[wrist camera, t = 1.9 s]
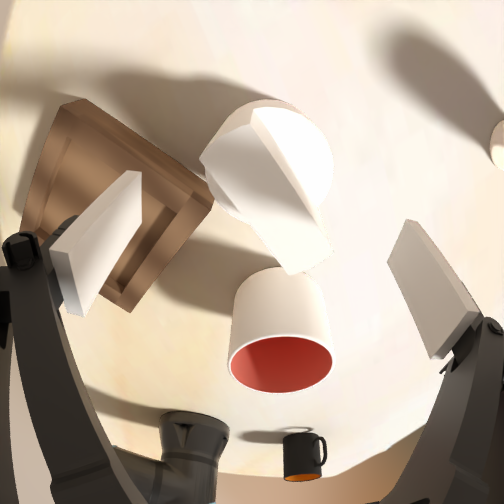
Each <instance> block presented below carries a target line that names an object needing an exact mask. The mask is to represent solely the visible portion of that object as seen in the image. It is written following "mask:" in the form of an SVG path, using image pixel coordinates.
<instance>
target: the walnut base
mask: <svg viewBox="0 0 504 504" xmlns="http://www.w3.org/2000/svg"><path fill="white" fill-rule="evenodd" d="M127 170H128V171H138V172H142V178H141V205H142V223H141V225H140V226H139V228H138V229H137V231H136V232H135V234H134V235H133V237H132V238H131V240H130V241H129V243H128V245H127V246H126V248H125V249H124V251H123V253H122V254H121V256H120V257H119V259H118V261H117V262H116V264H115V265H114V267H113V269H112V270H111V272H110V274H109V275H108V277H107V279H106V280H105V282H104V284H103V286H102V287H101V289H100V291H99V294H100V295H102V296H103V297H105V298H106V299H108V300H109V301H111V302H113V303H114V304H116V305H117V306H119V307H121V308H122V309H124V310H125V311H127V312H129V313H131V312H132V310H133V309H134V307H135V306H136V305H137V303H138V302H139V301H140V299H141V298H142V297H143V295H144V294H145V293H146V291H147V290H148V289H149V287H150V286H151V285H152V284H153V282H154V281H155V280H156V278H157V277H158V276H159V274H160V273H161V272H162V271H163V269H164V268H165V267H166V265H167V264H168V263H169V262H170V260H171V259H172V258H173V256H174V255H175V254H176V253H177V251H178V250H179V249H180V248H181V246H182V245H183V244H184V243H185V241H186V240H187V239H188V238H189V236H190V235H191V234H192V233H193V232H194V230H195V229H196V228H197V227H198V225H199V224H200V223H201V222H202V221H203V219H204V218H205V217H206V216H207V214H208V213H209V212H210V211H211V208H212V205H213V202H214V199H215V198H214V197H213V195H212V193H211V192H210V190H209V187H208V184H207V183H206V182H205V181H203V180H202V179H201V178H199V177H198V176H196V175H195V174H194V173H192V172H191V171H189V170H188V169H187V168H185V167H184V166H182V165H181V164H180V163H178V162H177V161H175V160H174V159H173V158H171V157H170V156H168V155H167V154H165V153H164V152H163V151H161V150H160V149H158V148H157V147H155V146H154V145H153V144H151V143H150V142H148V141H147V140H145V139H144V138H143V137H141V136H140V135H138V134H137V133H135V132H134V131H132V130H131V129H130V128H128V127H127V126H125V125H124V124H122V123H121V122H119V121H118V120H116V119H115V118H113V117H112V116H111V115H109V114H108V113H106V112H105V111H103V110H102V109H100V108H99V107H97V106H96V105H94V104H93V103H91V102H90V101H88V100H87V99H82V100H78V101H75V102H71V103H68V104H65V105H62V106H60V108H59V110H58V113H57V115H56V117H55V120H54V122H53V124H52V127H51V129H50V132H49V134H48V137H47V139H46V142H45V144H44V147H43V150H42V153H41V155H40V158H39V161H38V164H37V167H36V170H35V173H34V176H33V180H32V183H31V186H30V190H29V193H28V197H27V201H26V204H25V208H24V212H23V216H22V221H21V225H20V230H19V232H21V231H32V232H34V233H36V235H37V238H38V242H39V246H41V245H42V244H43V243H44V242H45V241H46V239H47V238H48V237H49V236H50V235H52V233H53V232H54V231H55V230H56V229H58V227H59V226H60V225H61V224H62V223H63V222H64V221H65V220H66V219H68V218H70V217H72V216H74V215H81V214H82V213H83V212H84V211H85V210H86V209H87V208H88V207H89V206H90V205H91V204H92V203H93V202H94V201H95V200H96V199H97V198H98V197H99V196H100V195H101V194H102V193H103V192H104V191H105V190H106V189H107V188H108V187H109V186H110V185H111V184H113V183H114V182H115V181H116V180H117V179H118V178H119V177H120V176H121V175H122V174H123V173H125V172H126V171H127Z"/></svg>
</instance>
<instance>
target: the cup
mask: <svg viewBox="0 0 504 504" xmlns="http://www.w3.org/2000/svg"><path fill="white" fill-rule="evenodd" d="M227 365H228V370H229V373H230V374H231V376H232V377H233V378H234V379H235V380H236V381H237V382H238V383H240V384H241V385H243V386H245V387H247V388H249V389H252V390H255V391H259V392H263V393H272V394H284V393H293V392H298V391H302V390H305V389H308V388H311V387H313V386H315V385H317V384H318V383H320V382H322V381H323V380H324V379H325V378H326V377H328V375H329V374H330V373H331V372H332V370H333V368H334V366H335V353H334V348H333V342H332V337H331V332H330V327H329V322H328V317H327V312H326V308H325V303H324V298H323V294H322V291H321V289H320V287H319V285H318V284H317V283H316V282H315V280H314V279H313V278H311V277H310V276H309V275H307V274H306V273H304V272H300V273H297V274H294V275H288V274H287V273H286V271H285V270H284V269H283V267H274V268H268V269H264V270H261V271H259V272H256V273H254V274H253V275H251V276H250V277H248V278H247V279H246V280H245V281H244V282H243V283H242V284H241V285H240V287H239V288H238V290H237V292H236V295H235V299H234V307H233V316H232V325H231V334H230V344H229V353H228V363H227Z"/></svg>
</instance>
